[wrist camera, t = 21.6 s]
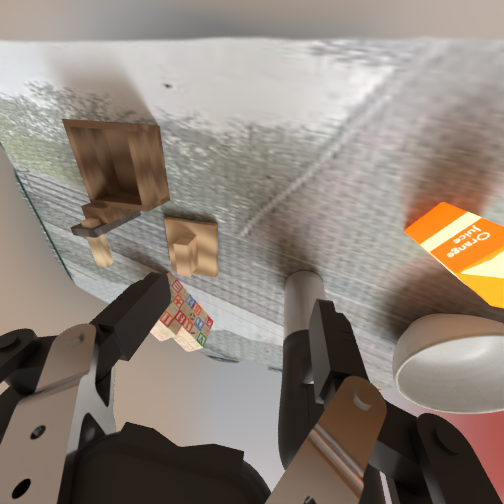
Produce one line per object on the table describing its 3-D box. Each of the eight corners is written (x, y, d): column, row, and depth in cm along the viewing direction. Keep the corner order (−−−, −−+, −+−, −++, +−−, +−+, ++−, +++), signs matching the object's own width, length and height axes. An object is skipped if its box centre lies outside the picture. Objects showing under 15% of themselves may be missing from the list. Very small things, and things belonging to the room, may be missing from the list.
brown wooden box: (172, 219, 47) (136, 243, 36) (123, 212, 48) (73, 234, 37) (159, 126, 38) (104, 121, 27) (98, 122, 39) (22, 115, 28)
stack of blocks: (214, 321, 63) (199, 358, 52) (199, 326, 65) (182, 362, 55) (169, 270, 55) (141, 301, 45) (154, 278, 58) (124, 309, 47)
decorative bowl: (360, 352, 58) (375, 398, 48) (401, 280, 45) (434, 322, 35) (460, 371, 56) (499, 424, 45) (536, 300, 42) (616, 352, 32)
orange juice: (431, 256, 41) (531, 340, 24) (402, 231, 40) (487, 301, 23) (473, 229, 37) (627, 306, 20) (443, 200, 36) (583, 257, 19)
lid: (219, 271, 53) (209, 290, 46) (176, 264, 54) (161, 281, 48) (219, 222, 46) (207, 235, 39) (169, 215, 47) (150, 227, 40)
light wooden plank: (113, 262, 43) (106, 267, 42) (105, 261, 44) (97, 266, 42) (98, 218, 38) (89, 222, 37) (89, 217, 39) (80, 221, 37)
